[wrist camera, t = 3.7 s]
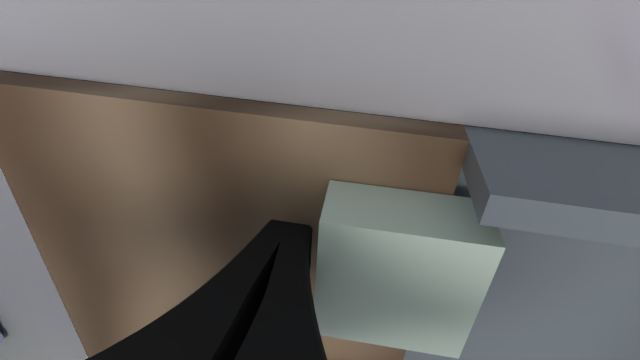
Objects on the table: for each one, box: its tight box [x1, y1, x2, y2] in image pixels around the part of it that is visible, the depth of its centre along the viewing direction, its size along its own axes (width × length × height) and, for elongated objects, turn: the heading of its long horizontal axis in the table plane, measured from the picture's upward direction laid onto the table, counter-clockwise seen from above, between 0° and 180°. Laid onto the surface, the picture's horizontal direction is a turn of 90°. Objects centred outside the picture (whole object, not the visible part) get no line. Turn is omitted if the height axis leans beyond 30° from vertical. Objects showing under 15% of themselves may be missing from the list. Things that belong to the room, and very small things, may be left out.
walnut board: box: [0, 71, 470, 360], centre depth 16 cm, size 15×18×1 cm
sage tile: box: [314, 180, 506, 359], centre depth 11 cm, size 4×4×2 cm
